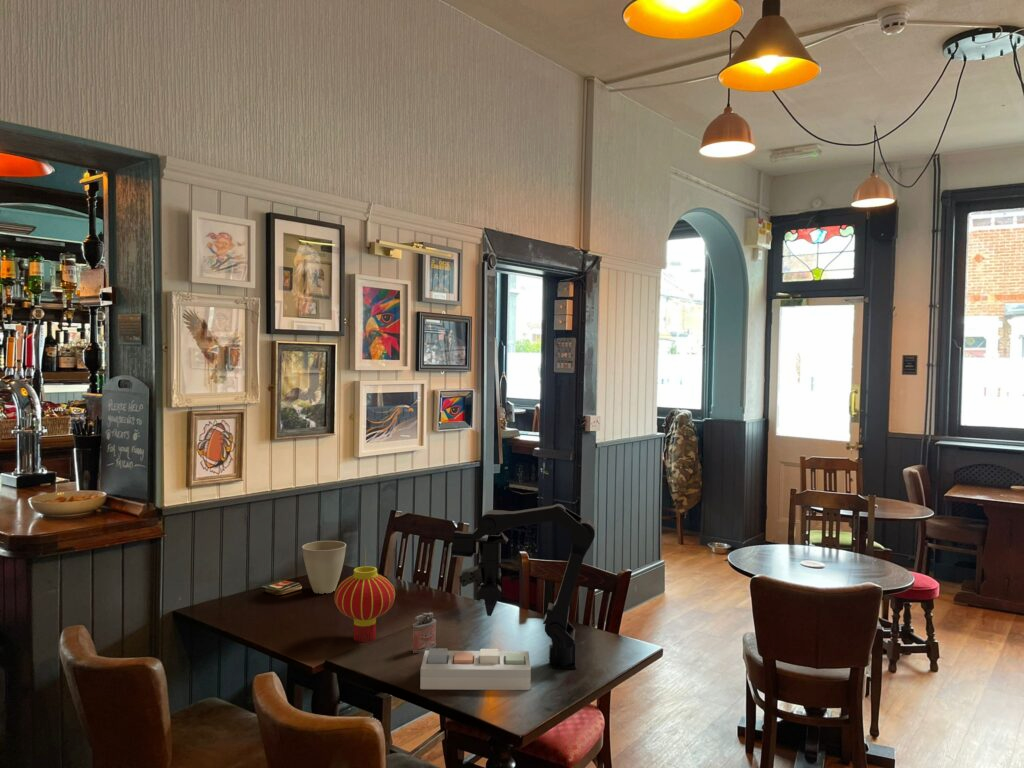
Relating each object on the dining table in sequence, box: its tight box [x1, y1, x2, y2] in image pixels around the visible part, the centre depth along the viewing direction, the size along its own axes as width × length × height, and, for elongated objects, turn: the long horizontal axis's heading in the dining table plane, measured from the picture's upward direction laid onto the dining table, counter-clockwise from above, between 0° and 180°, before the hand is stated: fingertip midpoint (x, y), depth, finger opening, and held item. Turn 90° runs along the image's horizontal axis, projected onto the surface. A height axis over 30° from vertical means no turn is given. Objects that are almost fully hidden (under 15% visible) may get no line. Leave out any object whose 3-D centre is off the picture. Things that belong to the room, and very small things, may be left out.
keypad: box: [419, 650, 532, 691], centre depth 191 cm, size 27×12×5 cm, turn 91°
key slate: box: [428, 647, 449, 664], centre depth 191 cm, size 5×5×2 cm
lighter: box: [411, 612, 437, 654], centre depth 211 cm, size 8×3×10 cm, turn 141°
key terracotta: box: [454, 653, 473, 664], centre depth 191 cm, size 5×5×2 cm
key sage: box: [506, 653, 524, 665], centre depth 191 cm, size 5×5×2 cm
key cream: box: [479, 648, 499, 664], centre depth 191 cm, size 5×5×2 cm
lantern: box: [334, 549, 396, 643], centre depth 218 cm, size 17×17×30 cm
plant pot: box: [301, 540, 347, 595], centre depth 263 cm, size 15×15×16 cm
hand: (489, 615), depth 204 cm, fingers closed
